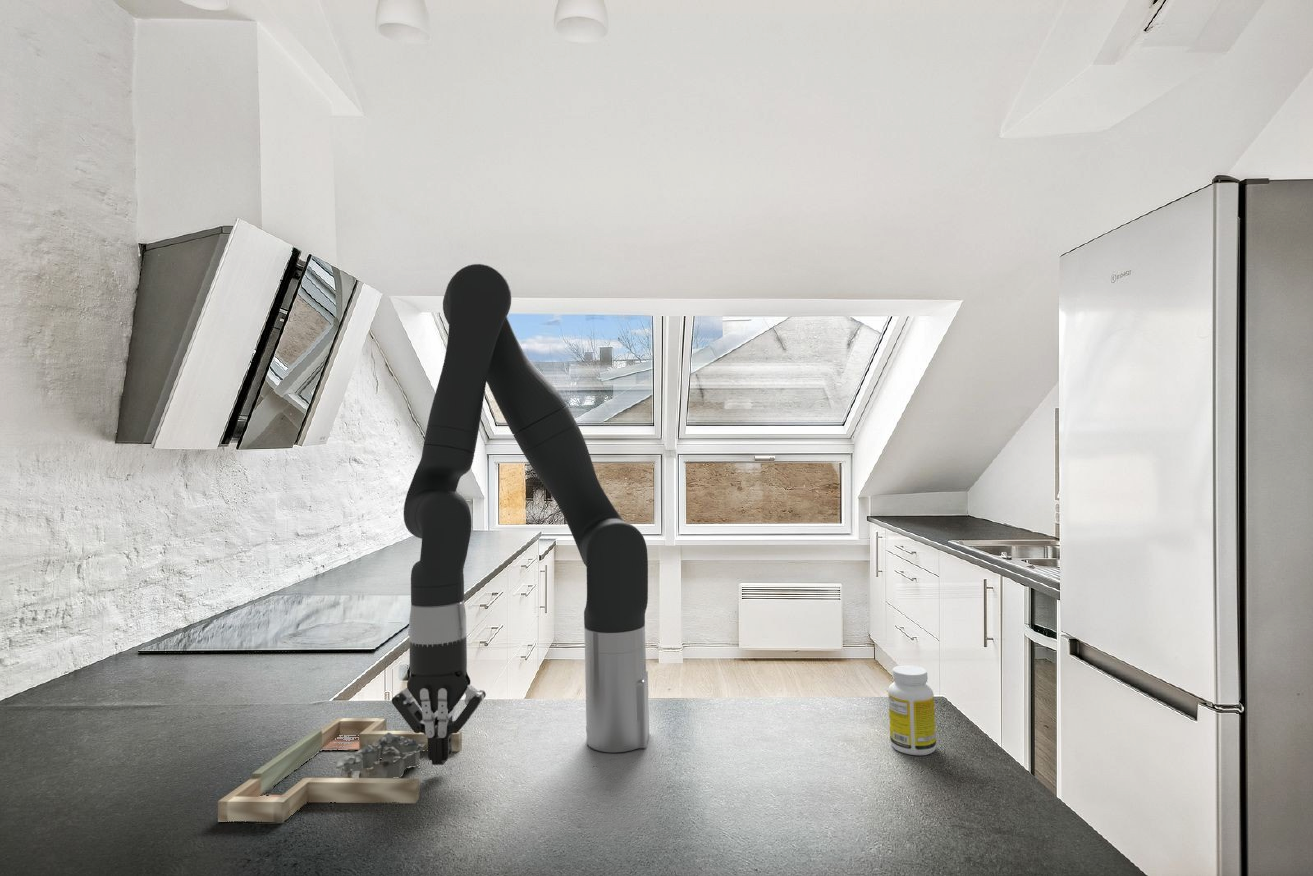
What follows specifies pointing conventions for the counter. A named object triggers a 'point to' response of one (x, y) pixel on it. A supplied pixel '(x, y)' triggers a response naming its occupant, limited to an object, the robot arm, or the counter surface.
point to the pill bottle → (911, 711)
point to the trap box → (340, 790)
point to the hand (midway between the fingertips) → (439, 762)
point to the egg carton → (393, 754)
